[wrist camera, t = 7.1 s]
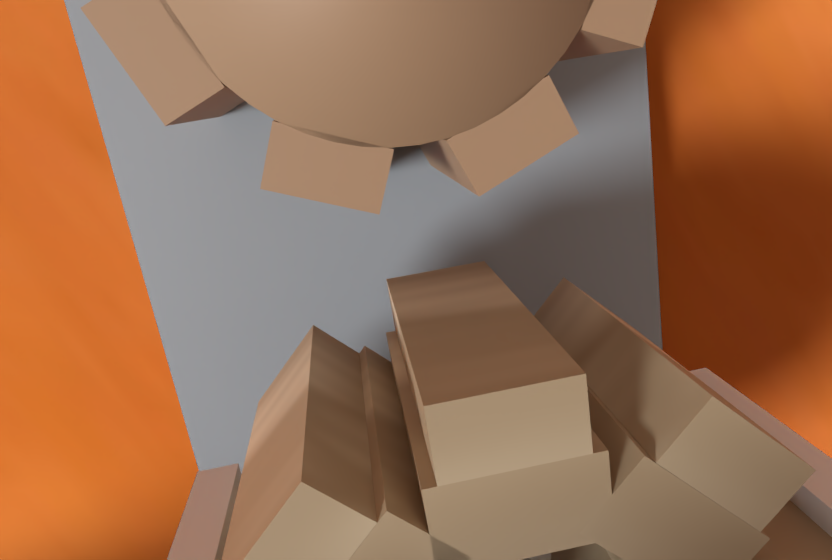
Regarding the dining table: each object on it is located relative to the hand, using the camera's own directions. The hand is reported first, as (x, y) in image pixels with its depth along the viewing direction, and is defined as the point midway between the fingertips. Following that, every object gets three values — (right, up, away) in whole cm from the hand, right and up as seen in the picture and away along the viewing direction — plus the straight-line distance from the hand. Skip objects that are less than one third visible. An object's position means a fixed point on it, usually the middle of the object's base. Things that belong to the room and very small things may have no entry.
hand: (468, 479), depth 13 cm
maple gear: (0, 0, 0) cm, 0 cm away
